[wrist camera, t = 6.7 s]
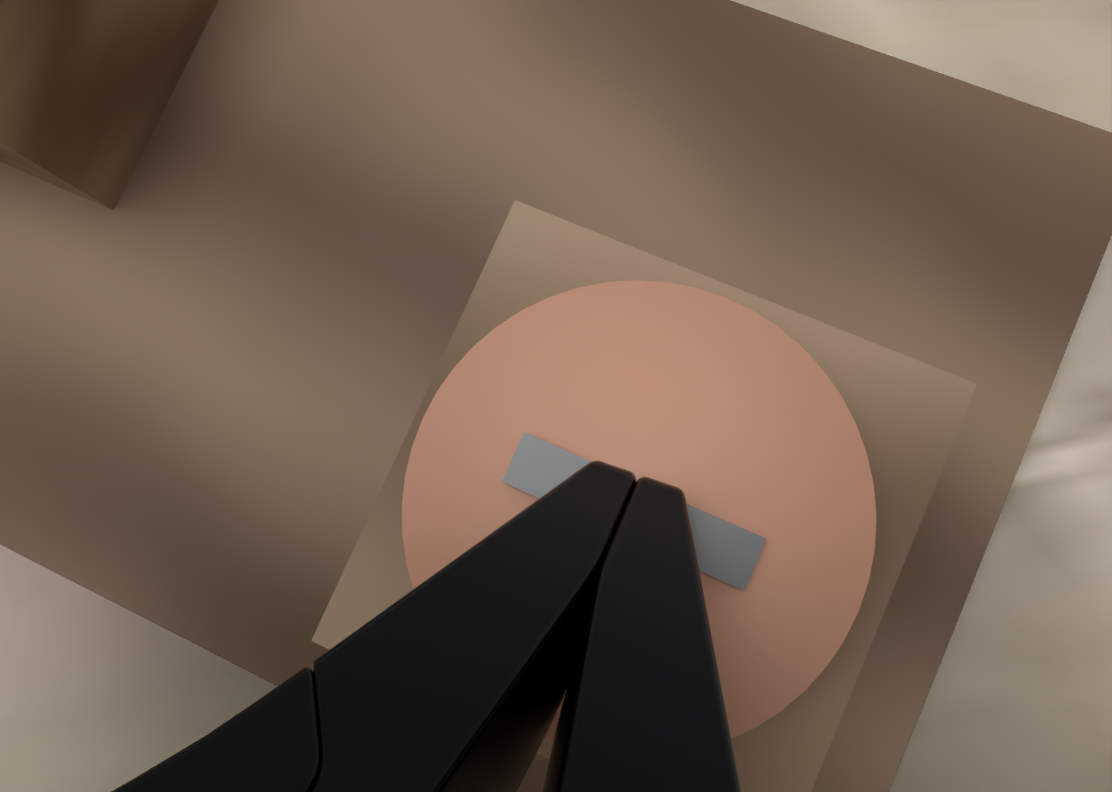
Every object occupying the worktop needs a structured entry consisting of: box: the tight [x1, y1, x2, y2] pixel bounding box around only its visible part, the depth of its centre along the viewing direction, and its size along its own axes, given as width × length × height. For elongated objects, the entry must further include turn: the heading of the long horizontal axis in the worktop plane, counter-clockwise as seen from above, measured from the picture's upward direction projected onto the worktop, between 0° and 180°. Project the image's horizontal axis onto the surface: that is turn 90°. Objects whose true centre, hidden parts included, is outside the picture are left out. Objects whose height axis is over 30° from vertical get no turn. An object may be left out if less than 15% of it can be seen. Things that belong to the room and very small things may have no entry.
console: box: [0, 0, 1112, 792], centre depth 15 cm, size 14×24×7 cm, turn 66°
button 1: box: [402, 280, 877, 740], centre depth 10 cm, size 4×4×2 cm
